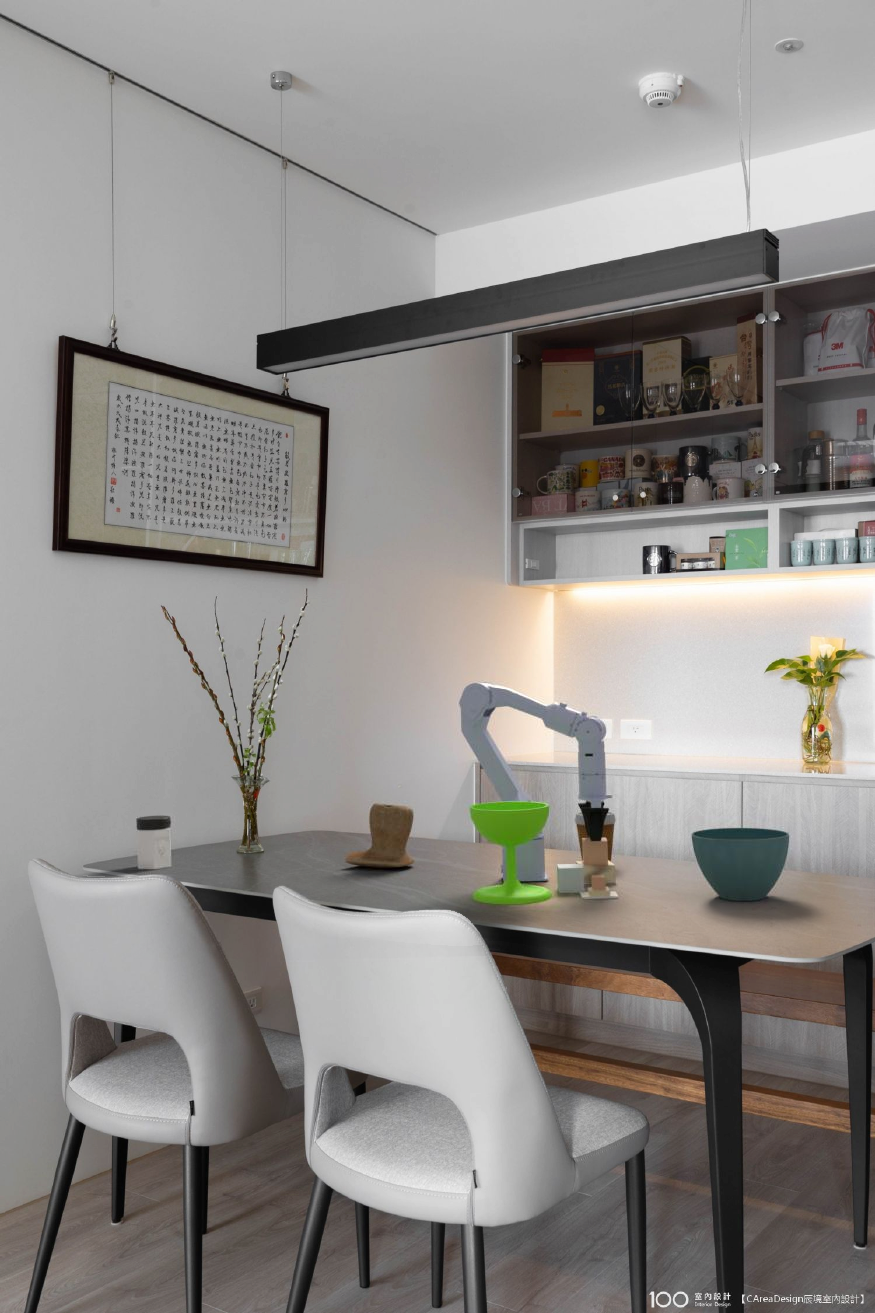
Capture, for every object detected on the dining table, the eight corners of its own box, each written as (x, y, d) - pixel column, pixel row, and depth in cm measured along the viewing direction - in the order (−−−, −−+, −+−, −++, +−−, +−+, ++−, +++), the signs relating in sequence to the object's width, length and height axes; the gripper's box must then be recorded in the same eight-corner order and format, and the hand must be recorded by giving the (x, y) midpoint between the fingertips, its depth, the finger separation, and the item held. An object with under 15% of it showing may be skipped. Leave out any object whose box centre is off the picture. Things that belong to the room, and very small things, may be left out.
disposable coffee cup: (605, 871, 253) (603, 816, 253) (567, 868, 259) (566, 814, 259) (625, 864, 260) (623, 812, 261) (588, 861, 266) (587, 810, 266)
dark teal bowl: (675, 893, 225) (673, 831, 225) (752, 885, 231) (750, 824, 232) (730, 910, 208) (727, 842, 208) (812, 900, 214) (809, 835, 215)
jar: (146, 871, 273) (145, 820, 273) (129, 867, 279) (128, 818, 279) (179, 866, 279) (178, 816, 279) (162, 862, 285) (161, 814, 285)
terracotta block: (584, 865, 239) (583, 841, 239) (583, 861, 244) (582, 838, 244) (608, 865, 239) (607, 841, 239) (606, 861, 244) (605, 837, 244)
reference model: (582, 899, 222) (581, 879, 222) (580, 894, 227) (579, 874, 227) (618, 898, 222) (617, 878, 222) (615, 893, 227) (614, 873, 227)
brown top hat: (425, 864, 270) (423, 800, 270) (399, 872, 260) (397, 806, 260) (371, 861, 277) (369, 799, 278) (343, 869, 267) (341, 804, 267)
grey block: (559, 893, 230) (558, 868, 230) (557, 888, 235) (556, 864, 235) (584, 892, 229) (583, 867, 229) (582, 888, 234) (581, 863, 234)
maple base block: (582, 885, 238) (582, 866, 238) (576, 880, 245) (575, 861, 245) (615, 884, 239) (615, 865, 239) (608, 878, 245) (607, 859, 246)
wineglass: (503, 886, 239) (500, 800, 239) (568, 893, 229) (565, 803, 229) (455, 899, 226) (452, 808, 227) (521, 907, 216) (518, 812, 216)
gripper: (615, 776, 235) (617, 843, 234) (607, 770, 249) (609, 833, 249) (580, 777, 235) (582, 843, 235) (574, 771, 249) (576, 834, 249)
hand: (594, 838), depth 242 cm, fingers open, 7 cm apart
